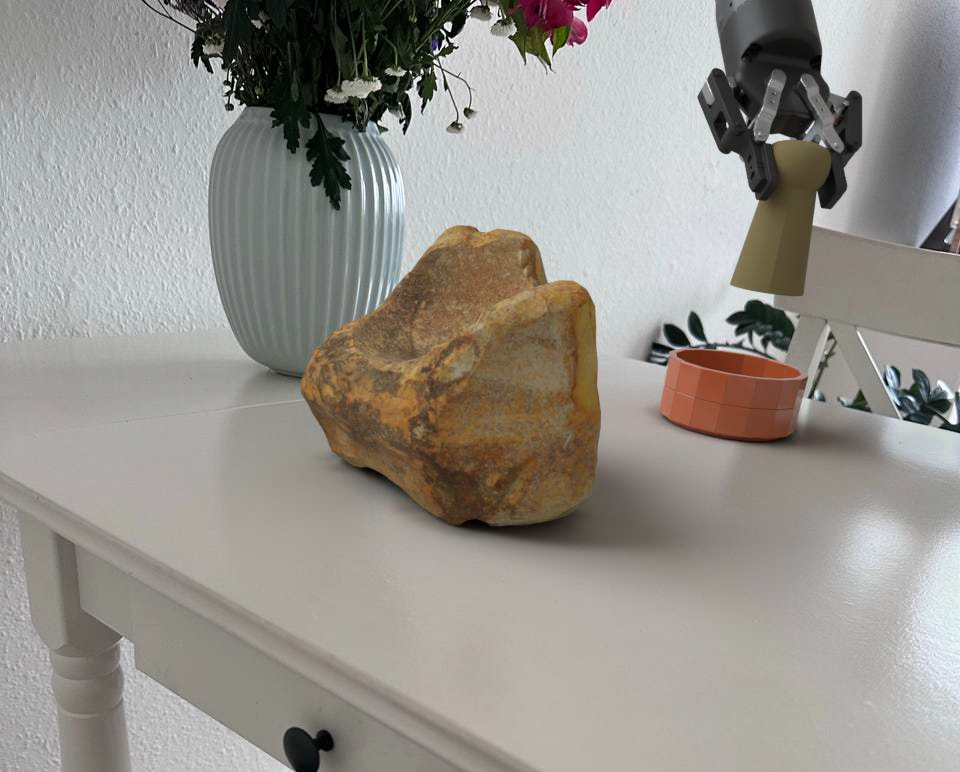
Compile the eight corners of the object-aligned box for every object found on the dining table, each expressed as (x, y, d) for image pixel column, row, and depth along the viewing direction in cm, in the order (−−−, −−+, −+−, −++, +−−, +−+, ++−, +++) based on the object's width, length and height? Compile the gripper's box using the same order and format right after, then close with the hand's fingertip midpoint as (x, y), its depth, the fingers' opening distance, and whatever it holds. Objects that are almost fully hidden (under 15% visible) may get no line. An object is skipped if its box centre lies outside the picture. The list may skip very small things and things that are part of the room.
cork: (741, 281, 83) (774, 138, 78) (811, 293, 81) (849, 147, 76) (720, 285, 79) (753, 133, 73) (793, 298, 76) (832, 143, 71)
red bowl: (751, 411, 92) (765, 353, 90) (816, 448, 82) (834, 383, 80) (637, 404, 89) (649, 344, 87) (690, 442, 79) (705, 374, 77)
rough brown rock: (298, 433, 71) (285, 214, 64) (515, 426, 75) (527, 218, 67) (319, 569, 52) (304, 277, 44) (612, 552, 55) (644, 278, 48)
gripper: (708, -31, 74) (742, 149, 70) (868, 0, 78) (911, 173, 73) (667, 52, 81) (695, 221, 76) (816, 77, 85) (852, 239, 80)
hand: (800, 196), depth 75 cm, fingers closed on cork, 5 cm apart
